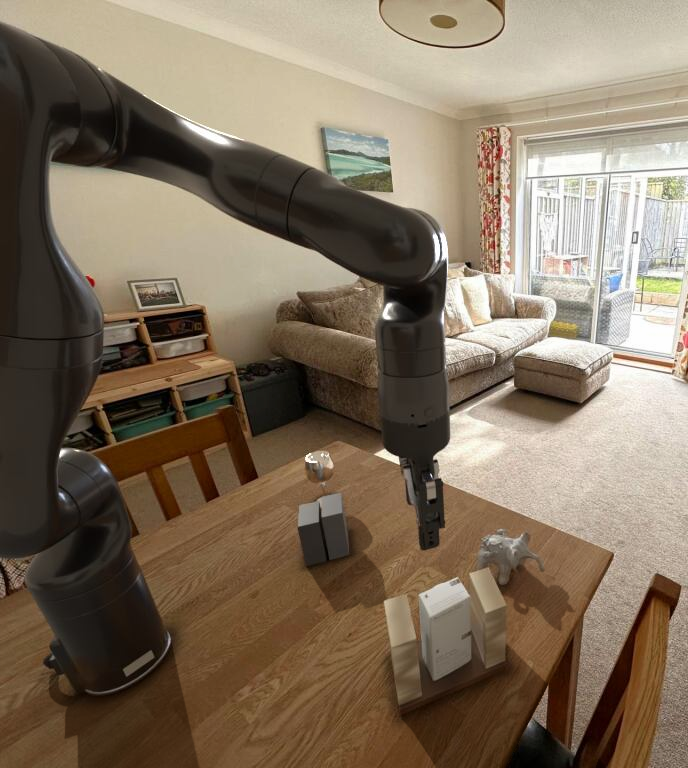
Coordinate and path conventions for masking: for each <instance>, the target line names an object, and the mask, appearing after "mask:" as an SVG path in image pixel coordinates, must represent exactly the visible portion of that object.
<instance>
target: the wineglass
mask: <svg viewBox="0 0 688 768" xmlns="http://www.w3.org/2000/svg"><path fill="white" fill-rule="evenodd" d="M304 472H305V476H306V478H307V481H309V482H310V483H311V484H315V485H316V484H317V485H318V484H320V485H319V486H320V488H321V490H322V495H323V496H328V495H329V494H328V495H327V494H326V493H327V492H326V483H327V482H329V481H330V480H331V479H332V478H333V476H334V475H335V462H334V461H333V458H332V456H331V455H330V453H329V452H328V451H326V450H316V451H313V452H310V453H309V454H307V455H306V457H305V459H304ZM323 496H321V497H319V498H317V499H316V501H315V502H317V501H319V502H320V507H321V509H322V497H323Z"/></svg>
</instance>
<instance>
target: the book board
mask: <svg viewBox="0 0 688 768" xmlns="http://www.w3.org/2000/svg"><path fill="white" fill-rule="evenodd" d="M468 577H469V580H468V581H469V595H470V597H471V660H470V661H469V662H467V663H466V664H464V665H463V666H461V667H459V668H458V669H456V670H454V671H453V672H451V673H449V674H447V675H445V676H443V677H442V678H440V679H438V680H435V681H433V679H432V677H431V675H430V673H429V670H428V668H427V666H426V663H425V661H424V659H423V652H422V641H420V642H418V640H417V639H418V637H417V635H416V629H415V625H414V621H413V618H412V612H411V608H410V603H409V599H408V594H407V593H404V594H401V595H398V596H394V597H391V598H389V599H385V600H383V606H384V613H385V620H386V629H387V635H388V644H389V650H390V658H391V664H392V665H391V666H392V671H393V677H394V685H395V691H396V695H397V696H396V698H397V704H398V711H399V716H402V715H404V714H407V713H409V712H411V711H414V710H417V709H418V708H421V707H423V706H425V705H428V704H430V703H432V702H434V701H437V700H439V699H441V698H442V699H443V698H444V697H446V696H449V695H451V694H453V693H455V692H458V691H460V690H463V689H465V688H467V687H469V686H472V685H474V684H477V683H478V682H480V681H483V680H485V679H486V680H487V679H488V678H490V677H492V676H494V675H497V674H499V673H502V672H504V671H506V670H507V661H506V652H507V651H506V647H507V611H508V610H507V609H508V607H507V603H506V601H505V599H504V597H503V594H502V592H501V590H500V588H499V587H498V584H497V582H496V580H495V578H494V575H493V574H492V571H491V569H490V568H489V567H486V568H485V569H481V570H478V571H477V570H476V571H473V572H470V573H469V575H468Z"/></svg>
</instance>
